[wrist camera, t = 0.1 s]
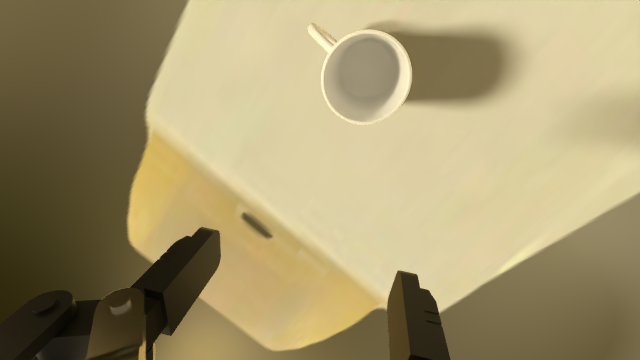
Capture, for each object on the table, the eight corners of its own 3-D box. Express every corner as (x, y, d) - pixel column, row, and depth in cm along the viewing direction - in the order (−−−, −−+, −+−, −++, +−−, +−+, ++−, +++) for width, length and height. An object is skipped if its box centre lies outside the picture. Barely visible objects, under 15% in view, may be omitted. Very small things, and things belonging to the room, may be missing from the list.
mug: (302, 51, 36) (272, 55, 25) (350, -8, 32) (339, -33, 22) (365, 117, 38) (363, 145, 27) (417, 68, 34) (436, 79, 24)
